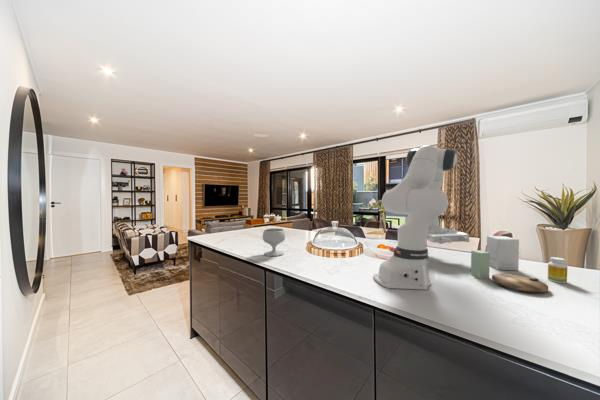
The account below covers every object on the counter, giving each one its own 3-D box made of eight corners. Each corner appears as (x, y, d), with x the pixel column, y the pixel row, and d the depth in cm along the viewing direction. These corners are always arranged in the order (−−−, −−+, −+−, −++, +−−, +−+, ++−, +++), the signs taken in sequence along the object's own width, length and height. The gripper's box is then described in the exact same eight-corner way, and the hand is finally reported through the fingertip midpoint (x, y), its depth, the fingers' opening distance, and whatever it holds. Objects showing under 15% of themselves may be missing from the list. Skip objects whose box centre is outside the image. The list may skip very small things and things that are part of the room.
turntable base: (520, 293, 82) (520, 291, 82) (488, 280, 95) (488, 278, 95) (552, 292, 83) (552, 290, 83) (516, 278, 96) (516, 277, 96)
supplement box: (519, 271, 106) (520, 239, 105) (497, 269, 108) (498, 238, 107) (505, 265, 115) (506, 236, 114) (485, 264, 116) (486, 235, 116)
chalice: (258, 253, 139) (258, 229, 138) (276, 250, 148) (276, 227, 148) (271, 258, 129) (271, 232, 128) (290, 254, 138) (289, 229, 138)
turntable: (521, 293, 80) (521, 288, 80) (481, 276, 96) (481, 272, 96) (561, 291, 82) (561, 286, 82) (516, 275, 98) (516, 271, 98)
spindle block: (479, 278, 97) (480, 253, 97) (470, 274, 102) (471, 250, 101) (489, 277, 98) (489, 252, 97) (480, 274, 102) (480, 250, 102)
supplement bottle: (546, 277, 97) (547, 255, 97) (565, 280, 94) (565, 258, 94) (548, 281, 93) (549, 258, 93) (568, 284, 90) (569, 261, 90)
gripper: (422, 230, 124) (439, 235, 111) (456, 229, 126) (478, 233, 112) (422, 241, 125) (439, 247, 111) (456, 240, 126) (478, 246, 112)
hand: (459, 240), depth 112 cm, fingers open, 8 cm apart
